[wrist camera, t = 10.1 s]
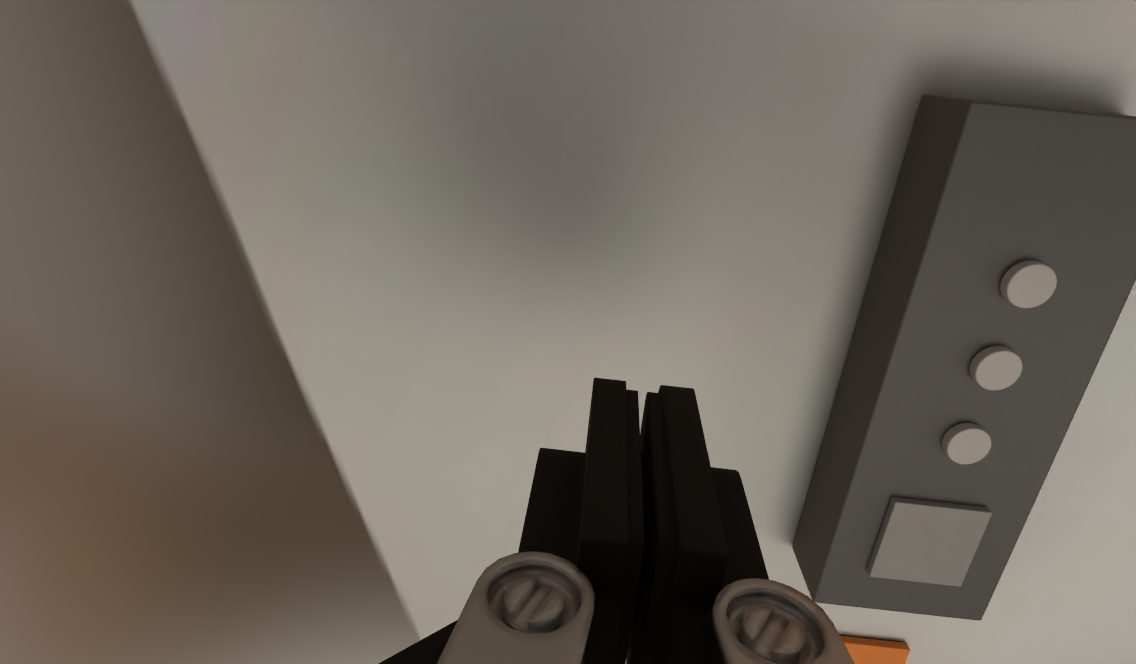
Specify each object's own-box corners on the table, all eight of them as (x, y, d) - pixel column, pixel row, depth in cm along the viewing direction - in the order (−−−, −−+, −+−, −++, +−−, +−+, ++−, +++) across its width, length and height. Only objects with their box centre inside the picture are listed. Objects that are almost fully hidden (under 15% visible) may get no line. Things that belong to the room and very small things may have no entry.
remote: (921, 94, 15) (978, 101, 13) (1125, 114, 15) (1221, 126, 13) (791, 547, 20) (815, 611, 18) (943, 564, 20) (987, 630, 18)
